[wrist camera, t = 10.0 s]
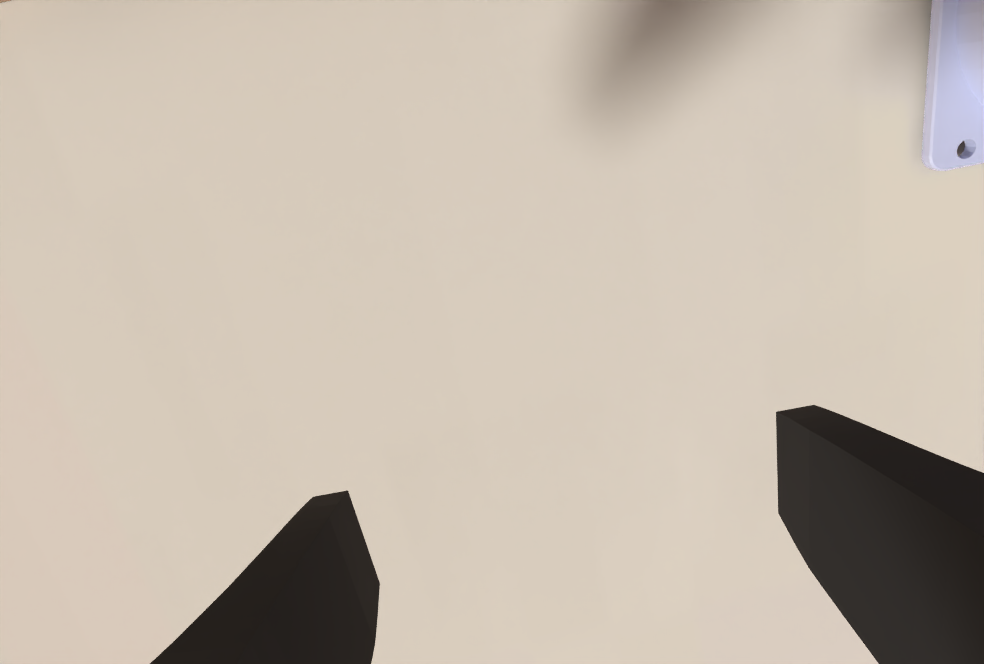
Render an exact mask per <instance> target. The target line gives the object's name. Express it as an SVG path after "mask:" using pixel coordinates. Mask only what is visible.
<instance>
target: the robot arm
mask: <svg viewBox="0 0 984 664" xmlns="http://www.w3.org/2000/svg"><path fill="white" fill-rule="evenodd" d="M962 141H964V142H965V148H964V151H963V152H962V153H961V155H960V156H957V149H958V146H959V145H960V144H961V143H962ZM922 162H923V163H924V165H925V166H926V167H927V168H929V169H932V170H938V171H946V170H951V169H956V168H961V167H966V166H971V165H976V164H981V163H984V0H932V9H931V23H930V38H929V53H928V68H927V83H926V97H925V112H924V127H923V142H922ZM776 426H777V471H778V513H779V515H780V517H781V519H782V521H783V522H784V524H785V526H786V528H787V530H788V532H789V533H790V535H791V537H792V539H793V541H794V543H795V545H796V546H797V548H798V550H799V551H800V553H801V555H802V557H803V558H804V560H805V562H806V564H807V565H808V567H809V569H810V570H811V572H812V573H813V574H814V576H815V577H816V579H817V580H818V581H819V583H820V584H821V586H822V587H823V588H824V590H825V591H826V592H827V594H828V595H829V597H830V598H831V599H832V601H833V602H834V603H835V605H836V606H837V608H838V609H839V610H840V612H841V613H842V614H843V616H844V617H845V618H846V620H847V621H848V623H849V624H850V625H851V627H852V628H853V629H854V631H855V632H856V633H857V635H858V636H859V637H860V639H861V640H862V641H863V643H864V644H865V645H866V647H867V648H868V650H869V651H870V652H871V654H872V655H873V656H874V658H875V659H876V660H877V662H878V663H879V664H984V473H982V472H979V471H977V470H974V469H972V468H969V467H966V466H964V465H961V464H959V463H956V462H954V461H951V460H949V459H946V458H944V457H941V456H939V455H936V454H934V453H932V452H929V451H927V450H924V449H922V448H919V447H917V446H914V445H912V444H910V443H907V442H905V441H903V440H900V439H898V438H895V437H893V436H891V435H888V434H886V433H883V432H881V431H879V430H876V429H874V428H872V427H869V426H867V425H864V424H862V423H860V422H857V421H855V420H852V419H850V418H848V417H845V416H843V415H840V414H838V413H835V412H832V411H830V410H827V409H824V408H821V407H818V406H815V405H811V406H806V407H800V408H795V409H789V410H784V411H778V412H776ZM379 586H380V583H379V580H378V577H377V574H376V571H375V568H374V565H373V562H372V559H371V557H370V554H369V551H368V548H367V545H366V542H365V539H364V536H363V533H362V530H361V527H360V525H359V522H358V519H357V516H356V513H355V510H354V507H353V504H352V501H351V498H350V495H349V493H348V491H343V492H337V493H332V494H326V495H321V496H315V497H312V498H311V499H310V500H309V501H308V502H307V503H306V504H305V505H304V506H303V507H302V508H301V509H300V510H299V511H298V512H297V513H296V515H295V516H294V517H293V518H292V519H291V520H290V521H289V522H288V523H287V524H286V525H285V526H284V527H283V529H282V530H281V531H280V532H279V533H278V534H277V535H276V536H275V537H274V538H273V540H272V541H271V542H270V543H269V544H268V545H267V546H266V547H265V548H264V549H263V550H262V552H261V553H260V554H259V555H258V556H257V557H256V558H255V559H254V560H253V561H252V562H251V563H250V564H249V565H248V567H247V568H246V569H245V570H244V571H243V572H242V573H241V574H240V575H239V576H238V577H237V578H236V579H235V581H234V582H233V583H232V584H231V585H230V586H229V587H228V588H227V589H226V590H225V591H224V592H223V593H222V594H221V595H220V596H219V597H218V598H217V599H216V600H215V601H214V602H213V603H212V604H211V605H210V606H209V607H208V608H207V609H206V610H205V611H204V612H203V613H202V614H201V615H200V616H199V617H198V618H197V619H196V620H195V621H194V622H193V623H192V624H191V625H190V626H189V627H188V628H187V629H186V630H185V631H184V632H183V633H182V634H181V635H180V636H179V637H178V638H177V639H176V640H175V641H174V642H173V643H172V644H171V645H170V646H169V647H167V648H166V649H165V650H164V651H163V652H162V653H161V654H160V655H159V656H158V657H157V658H156V659H155V660H153V661H152V662H151V663H150V664H371V661H372V656H373V651H374V646H375V638H376V627H377V616H378V601H379Z"/></svg>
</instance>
